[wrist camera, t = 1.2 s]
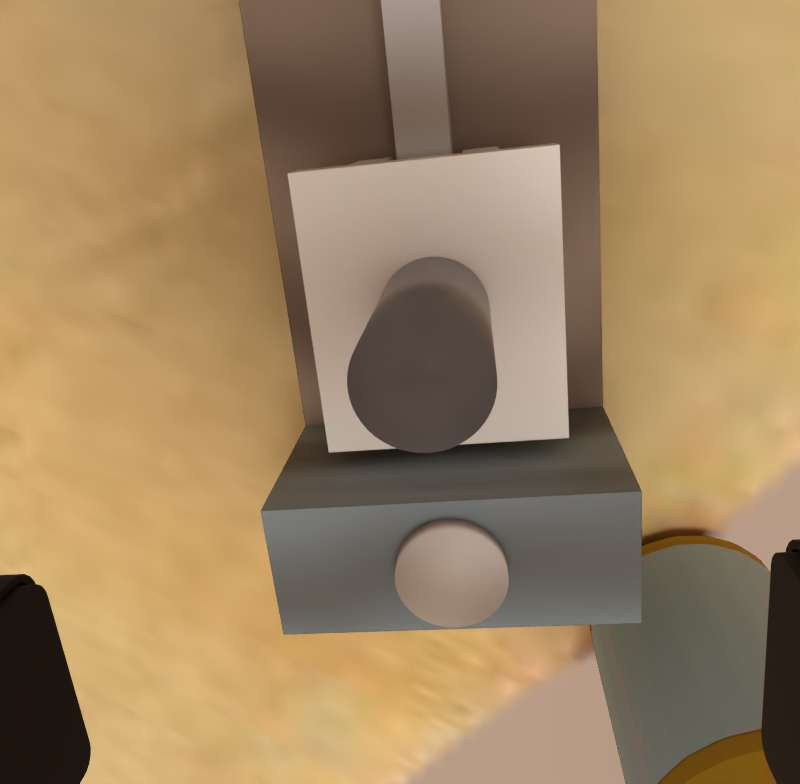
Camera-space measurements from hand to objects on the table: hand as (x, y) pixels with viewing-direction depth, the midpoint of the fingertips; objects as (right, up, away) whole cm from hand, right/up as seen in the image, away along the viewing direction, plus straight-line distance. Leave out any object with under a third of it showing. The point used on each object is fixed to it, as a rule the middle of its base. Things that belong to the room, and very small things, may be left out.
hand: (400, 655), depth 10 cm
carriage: (+1, +7, +14) cm, 16 cm away
